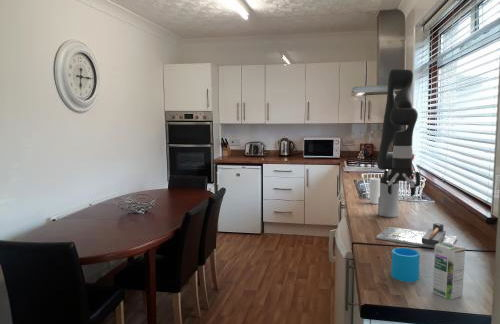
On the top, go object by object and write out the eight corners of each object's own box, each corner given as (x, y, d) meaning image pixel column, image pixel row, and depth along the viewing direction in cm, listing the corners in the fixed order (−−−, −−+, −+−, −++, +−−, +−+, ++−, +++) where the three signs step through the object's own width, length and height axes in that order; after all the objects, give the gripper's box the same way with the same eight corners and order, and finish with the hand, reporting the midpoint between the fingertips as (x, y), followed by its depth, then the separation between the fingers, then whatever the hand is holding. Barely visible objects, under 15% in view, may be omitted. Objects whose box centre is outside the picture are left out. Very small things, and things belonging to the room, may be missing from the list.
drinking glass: (380, 202, 232) (381, 178, 230) (380, 205, 226) (381, 179, 224) (369, 202, 234) (369, 177, 233) (368, 204, 228) (369, 179, 226)
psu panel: (376, 238, 162) (376, 235, 162) (388, 228, 177) (388, 226, 177) (450, 250, 146) (450, 247, 146) (457, 238, 161) (457, 236, 160)
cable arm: (431, 231, 166) (431, 222, 166) (446, 233, 163) (446, 224, 162) (421, 243, 151) (422, 233, 150) (438, 245, 147) (438, 235, 147)
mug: (422, 282, 118) (423, 257, 117) (394, 281, 119) (395, 256, 118) (411, 268, 130) (412, 244, 129) (386, 266, 131) (387, 243, 130)
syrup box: (431, 292, 111) (433, 243, 110) (445, 288, 114) (447, 240, 112) (449, 300, 106) (451, 249, 105) (463, 296, 109) (466, 246, 107)
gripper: (422, 156, 158) (421, 195, 160) (386, 155, 166) (385, 192, 168) (419, 158, 152) (417, 198, 154) (382, 156, 160) (381, 195, 162)
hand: (401, 195), depth 161 cm, fingers open, 8 cm apart
